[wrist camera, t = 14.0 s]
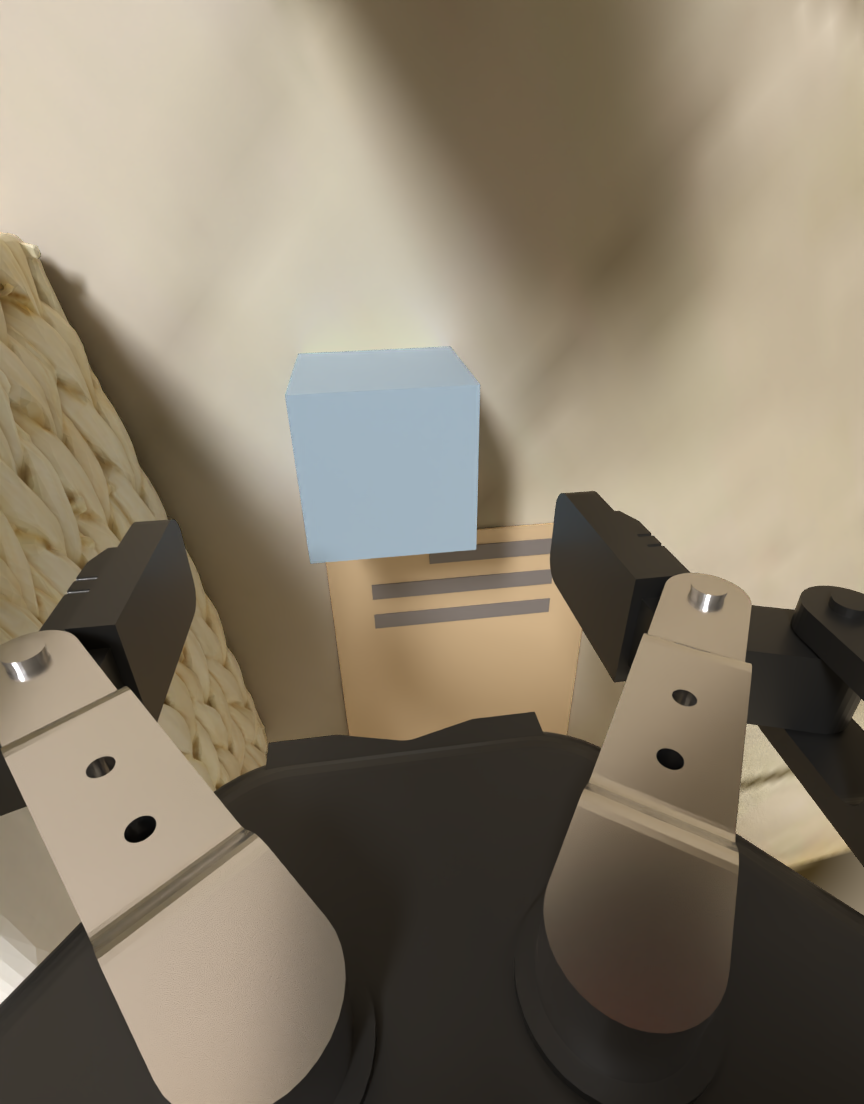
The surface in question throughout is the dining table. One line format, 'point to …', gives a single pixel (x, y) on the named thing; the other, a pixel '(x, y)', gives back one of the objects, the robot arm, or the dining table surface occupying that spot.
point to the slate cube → (385, 452)
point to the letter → (454, 636)
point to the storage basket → (57, 559)
